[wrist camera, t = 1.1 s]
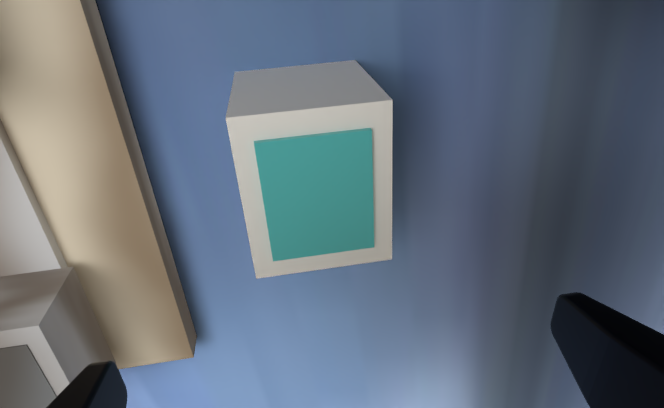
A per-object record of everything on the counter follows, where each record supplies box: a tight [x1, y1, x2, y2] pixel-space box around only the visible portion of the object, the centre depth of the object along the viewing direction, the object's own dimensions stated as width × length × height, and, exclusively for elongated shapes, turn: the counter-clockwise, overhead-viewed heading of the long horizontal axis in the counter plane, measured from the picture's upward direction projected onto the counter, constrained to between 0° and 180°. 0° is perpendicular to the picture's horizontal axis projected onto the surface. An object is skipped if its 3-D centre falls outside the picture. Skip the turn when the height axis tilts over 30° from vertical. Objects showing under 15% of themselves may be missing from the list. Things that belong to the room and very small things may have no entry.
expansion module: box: [226, 60, 393, 279], centre depth 17 cm, size 5×6×6 cm
